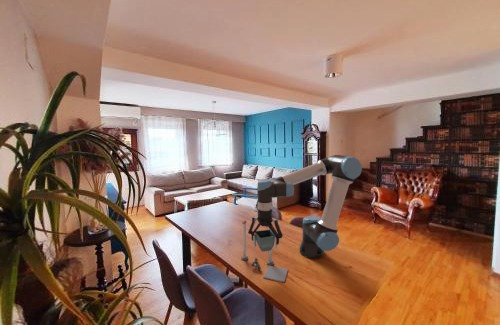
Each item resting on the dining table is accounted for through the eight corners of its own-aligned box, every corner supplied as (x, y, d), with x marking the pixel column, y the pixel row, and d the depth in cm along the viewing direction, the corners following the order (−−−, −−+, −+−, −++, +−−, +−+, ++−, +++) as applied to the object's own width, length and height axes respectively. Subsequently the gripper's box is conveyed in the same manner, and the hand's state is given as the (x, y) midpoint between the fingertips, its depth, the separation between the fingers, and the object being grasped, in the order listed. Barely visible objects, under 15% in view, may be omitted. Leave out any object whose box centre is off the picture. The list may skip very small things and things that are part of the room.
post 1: (242, 256, 133) (242, 218, 131) (248, 257, 132) (248, 219, 129) (240, 259, 130) (239, 220, 127) (246, 261, 128) (246, 221, 126)
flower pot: (275, 252, 113) (275, 235, 112) (259, 254, 111) (259, 238, 110) (270, 244, 122) (269, 229, 121) (255, 246, 120) (254, 231, 119)
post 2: (267, 261, 128) (267, 221, 125) (274, 262, 127) (274, 222, 124) (265, 264, 124) (266, 224, 122) (272, 266, 123) (272, 225, 120)
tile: (268, 266, 123) (268, 265, 123) (288, 270, 119) (288, 269, 119) (263, 278, 112) (263, 277, 112) (284, 282, 109) (284, 281, 109)
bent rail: (255, 261, 128) (255, 256, 127) (264, 263, 126) (264, 258, 125) (250, 269, 120) (250, 264, 119) (259, 271, 118) (259, 266, 118)
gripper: (241, 209, 115) (242, 247, 117) (285, 213, 106) (285, 255, 109) (246, 204, 122) (247, 241, 124) (288, 208, 113) (288, 248, 116)
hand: (265, 247), depth 117 cm, fingers closed on flower pot, 11 cm apart
